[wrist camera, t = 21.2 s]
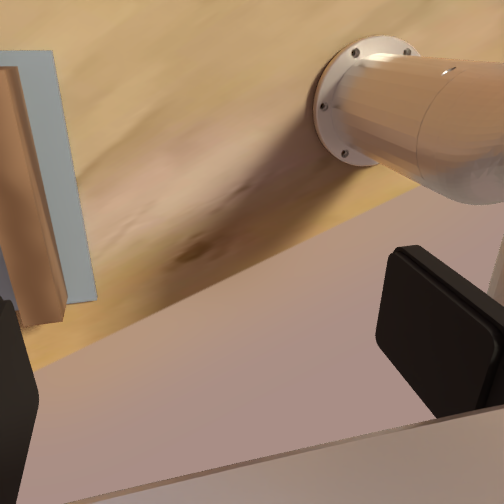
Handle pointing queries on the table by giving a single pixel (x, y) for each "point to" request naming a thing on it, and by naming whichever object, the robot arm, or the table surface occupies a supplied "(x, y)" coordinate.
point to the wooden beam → (26, 213)
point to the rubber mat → (53, 173)
